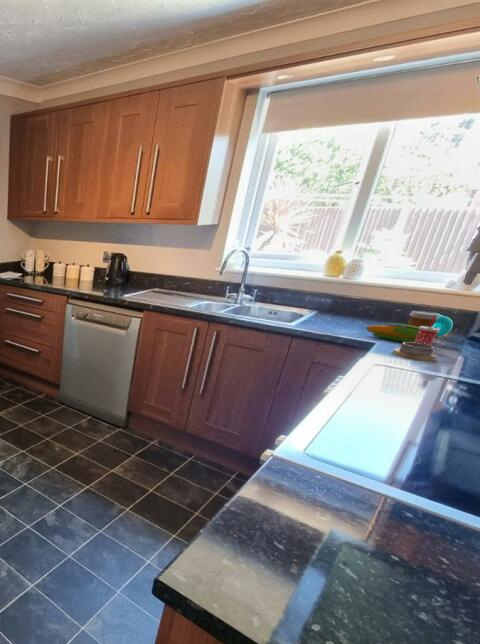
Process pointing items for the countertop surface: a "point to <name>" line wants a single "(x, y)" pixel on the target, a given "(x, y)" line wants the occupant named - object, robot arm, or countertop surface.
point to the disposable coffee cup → (422, 318)
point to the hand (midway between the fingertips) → (466, 283)
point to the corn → (395, 332)
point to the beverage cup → (426, 334)
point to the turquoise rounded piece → (443, 325)
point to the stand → (415, 351)
